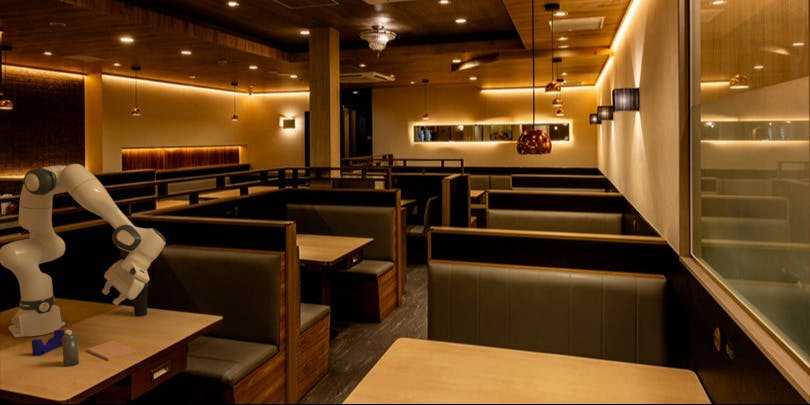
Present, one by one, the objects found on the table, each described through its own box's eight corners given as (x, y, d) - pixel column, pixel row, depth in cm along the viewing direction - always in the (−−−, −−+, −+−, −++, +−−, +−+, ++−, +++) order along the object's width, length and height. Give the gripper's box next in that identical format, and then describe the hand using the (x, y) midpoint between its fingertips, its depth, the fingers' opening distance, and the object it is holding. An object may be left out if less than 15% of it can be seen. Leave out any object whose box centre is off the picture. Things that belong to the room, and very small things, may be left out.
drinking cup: (144, 311, 258) (141, 268, 256) (153, 314, 254) (150, 270, 251) (128, 315, 252) (125, 272, 250) (137, 318, 247) (134, 274, 245)
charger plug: (61, 364, 198) (58, 331, 196) (75, 360, 201) (72, 327, 200) (67, 367, 195) (64, 333, 193) (81, 363, 199) (78, 329, 197)
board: (87, 351, 210) (86, 348, 210) (113, 343, 218) (113, 340, 218) (108, 360, 201) (108, 358, 201) (135, 351, 209) (135, 349, 209)
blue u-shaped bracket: (55, 344, 218) (53, 329, 218) (65, 344, 218) (64, 329, 217) (29, 355, 207) (27, 340, 206) (39, 356, 206) (38, 340, 205)
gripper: (114, 254, 218) (91, 284, 215) (138, 275, 206) (113, 307, 203) (127, 260, 223) (104, 290, 220) (151, 281, 211) (127, 313, 208)
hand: (109, 298), depth 211 cm, fingers open, 8 cm apart
